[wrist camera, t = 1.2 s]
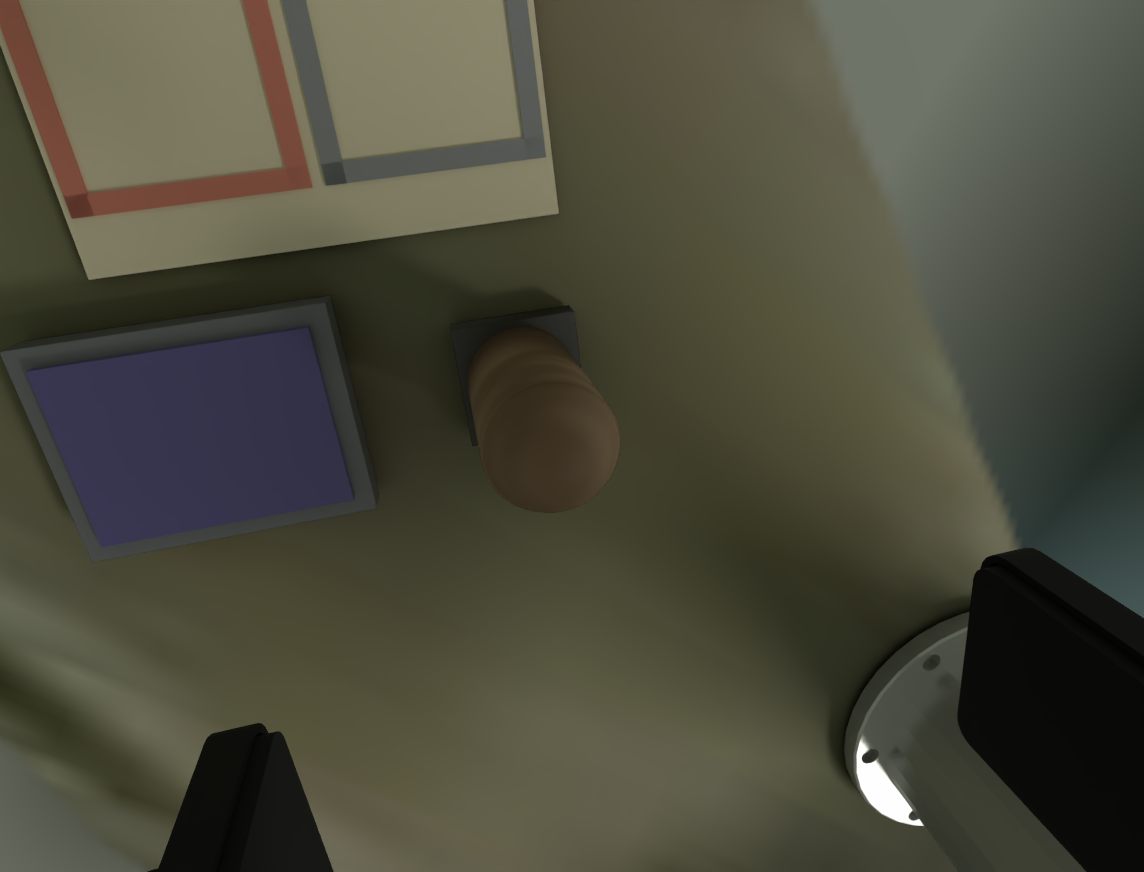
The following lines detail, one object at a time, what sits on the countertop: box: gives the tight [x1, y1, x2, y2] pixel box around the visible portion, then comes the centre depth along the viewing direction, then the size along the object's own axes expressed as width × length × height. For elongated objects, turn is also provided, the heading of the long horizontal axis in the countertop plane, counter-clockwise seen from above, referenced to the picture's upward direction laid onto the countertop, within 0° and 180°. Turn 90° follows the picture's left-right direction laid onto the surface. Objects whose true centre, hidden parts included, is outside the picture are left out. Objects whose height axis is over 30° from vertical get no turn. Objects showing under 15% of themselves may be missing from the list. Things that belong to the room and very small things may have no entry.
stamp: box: [450, 305, 621, 513], centre depth 21 cm, size 4×4×8 cm
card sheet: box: [0, 0, 559, 280], centre depth 20 cm, size 14×10×1 cm
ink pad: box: [0, 296, 379, 562], centre depth 22 cm, size 9×7×2 cm
